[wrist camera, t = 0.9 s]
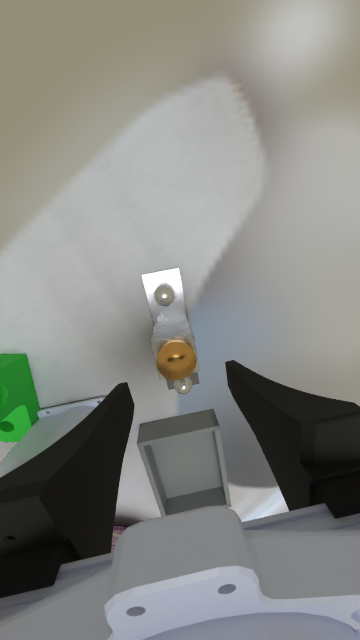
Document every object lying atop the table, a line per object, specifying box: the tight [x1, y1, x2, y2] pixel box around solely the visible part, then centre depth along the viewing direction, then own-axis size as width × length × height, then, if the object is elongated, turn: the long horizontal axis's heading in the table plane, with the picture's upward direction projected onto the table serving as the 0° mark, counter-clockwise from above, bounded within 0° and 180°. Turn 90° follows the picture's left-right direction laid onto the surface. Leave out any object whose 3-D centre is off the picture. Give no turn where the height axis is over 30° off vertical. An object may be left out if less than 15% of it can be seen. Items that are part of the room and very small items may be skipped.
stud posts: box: [142, 268, 199, 394], centre depth 20 cm, size 4×16×4 cm, turn 11°
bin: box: [137, 409, 231, 517], centre depth 27 cm, size 11×17×3 cm, turn 10°
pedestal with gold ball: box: [150, 317, 200, 380], centre depth 18 cm, size 4×4×7 cm
